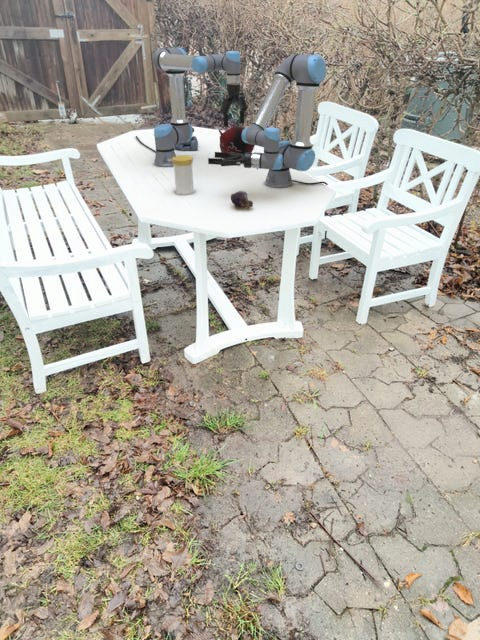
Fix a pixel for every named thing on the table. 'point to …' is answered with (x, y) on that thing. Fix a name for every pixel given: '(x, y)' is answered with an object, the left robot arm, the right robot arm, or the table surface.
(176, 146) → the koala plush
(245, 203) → the rock
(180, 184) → the jar
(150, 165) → the table surface
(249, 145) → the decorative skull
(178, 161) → the lid
